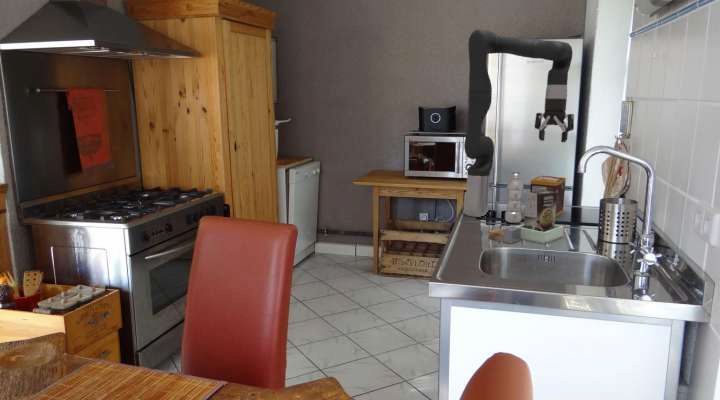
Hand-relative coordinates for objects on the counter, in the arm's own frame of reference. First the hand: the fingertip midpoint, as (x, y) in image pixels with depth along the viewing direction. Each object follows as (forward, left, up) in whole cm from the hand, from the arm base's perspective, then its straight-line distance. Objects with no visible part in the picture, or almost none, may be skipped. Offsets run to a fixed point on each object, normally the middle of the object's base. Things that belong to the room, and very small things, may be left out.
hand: (552, 141), depth 200 cm
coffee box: (+6, -17, -33) cm, 37 cm away
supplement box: (-11, +21, -33) cm, 41 cm away
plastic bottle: (-12, -4, -33) cm, 36 cm away
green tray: (+6, -17, -33) cm, 38 cm away
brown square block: (-2, -29, -33) cm, 44 cm away
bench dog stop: (+2, -29, -33) cm, 44 cm away
